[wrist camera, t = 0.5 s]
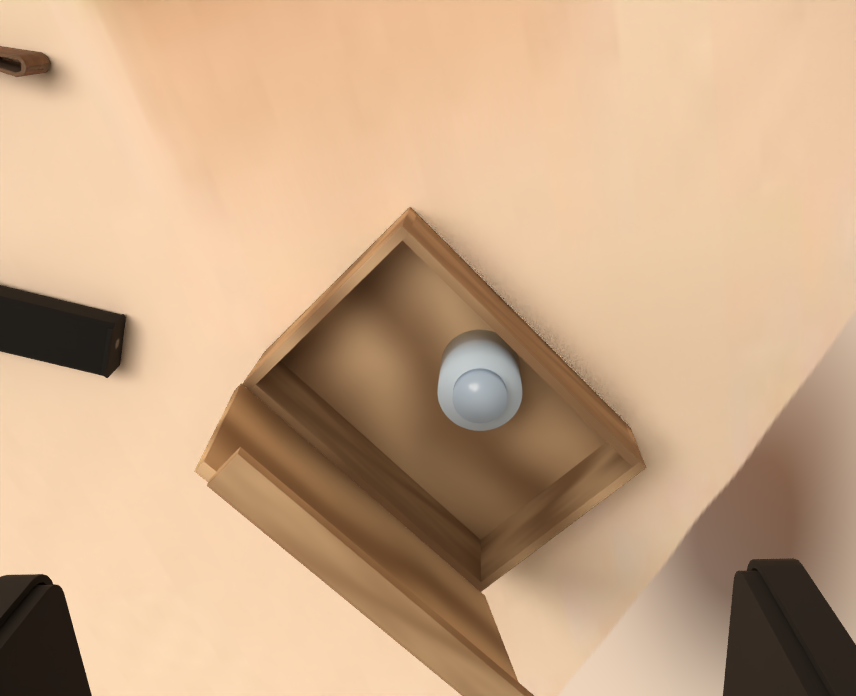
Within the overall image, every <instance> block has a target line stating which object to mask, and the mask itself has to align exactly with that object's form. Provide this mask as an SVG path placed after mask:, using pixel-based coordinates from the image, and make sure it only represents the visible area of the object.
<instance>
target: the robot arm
mask: <svg viewBox="0 0 856 696" xmlns="http://www.w3.org/2000/svg"><path fill="white" fill-rule="evenodd" d="M0 696H92V695H91V691H90V688H89V684H88V680H87V677H86V673H85V669H84V665H83V662H82V658H81V654H80V651H79V647H78V643H77V640H76V636H75V632H74V628H73V625H72V621H71V617H70V614H69V610H68V606H67V602H66V599H65V595H64V592H63V590H62V588H61V587H60V586H59V585H53V583H52V580H51V579H50V578H49V577H48V576H47V575H43V574H35V575H5V576H2V577H0ZM723 696H856V645H855V643H854V642H853V640H852V639H851V637H850V636H849V634H848V633H847V631H846V630H845V628H844V627H843V625H842V624H841V622H840V621H839V619H838V618H837V616H836V615H835V613H834V612H833V610H832V609H831V607H830V606H829V604H828V603H827V601H826V600H825V598H824V597H823V595H822V594H821V592H820V591H819V589H818V588H817V586H816V585H815V583H814V582H813V580H812V579H811V577H810V576H809V574H808V573H807V571H806V570H805V569H804V567H803V566H802V564H801V563H800V562H799V561H798V560H796V559H754V560H751V561H750V563H749V564H748V568H747V571H737V572H736V574H735V577H734V584H733V595H732V606H731V616H730V626H729V637H728V649H727V658H726V669H725V681H724V691H723Z"/></svg>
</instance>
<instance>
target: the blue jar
mask: <svg viewBox="0 0 856 696" xmlns="http://www.w3.org/2000/svg"><path fill="white" fill-rule="evenodd" d="M437 393H438V400H439V404H440V407H441V408H442V410H443V412H444V413H445V415H446V416H447V417H448V418H449V419H450V420H451V421H452V422H454V423H455V424H457V425H458V426H461V427H463V428H466V429H469V430H474V431H486V430H491V429H495V428H497V427H500V426H502V425H503V424H505V423H506V422H508V421H509V420H510V419H511V418H512V417H513V416H514V415H515V414H516V412H517V410H518V409H519V406H520V404H521V400H522V383H521V376H520V368H519V361H518V356H517V353H516V352H515V351H514V350H513V349H512V348H511V347H510V346H509V345H508V344H507V343H506V342H505V341H504V340H503V339H502V338H501V337H500V336H499V335H498V334H497V333H496V332H493V331H489V330H482V329H479V330H470V331H467V332H464V333H462V334H460V335H458V336H456V337H455V338H454V339H453V340H451V342H450V343H449V344H448V345H447V346H446V348H445V350H444V352H443V354H442V358H441V364H440V373H439V381H438V392H437Z"/></svg>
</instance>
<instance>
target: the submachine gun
mask: <svg viewBox="0 0 856 696" xmlns="http://www.w3.org/2000/svg"><path fill="white" fill-rule="evenodd" d="M4 57H7V58H14V59H17V60H18V61H19V62H21V63H19V62H16V61H13V60H10V59H7V58H4ZM49 67H50V61H49V60H48V58H47V56H46V55H44V54H43V53H41V52H35V51H28V50H21V49H15V48H8V47H2V46H0V72H3V73H6V74H9V75H12V76H15V77H19V76H25V75H32V74H39V73H45V72H47V71H48V70H49ZM125 318H126V317H125V315H124V314H122V315H120V314H116V313H112V312H107V311H103V310H99V309H95V308H91V307H87V306H83V305H79V304H75V303H71V302H67V301H62V300H58V299H54V298H50V297H46V296H42V295H38V294H34V293H30V292H26V291H22V290H17V289H13V288H9V287H5V286H1V285H0V351H1V352H6V353H10V354H14V355H18V356H22V357H27V358H31V359H35V360H39V361H44V362H48V363H52V364H56V365H60V366H65V367H69V368H73V369H77V370H82V371H86V372H90V373H94V374H98V375H103V376H105V377H106V378H108V377H109V376H110V375H111V374H112V373H113V372H114V371H115V370H116V368H117V367H118V366H119V365H120V360H121V352H122V344H123V335H124V327H125Z"/></svg>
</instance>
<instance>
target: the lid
mask: <svg viewBox="0 0 856 696" xmlns="http://www.w3.org/2000/svg"><path fill="white" fill-rule="evenodd" d="M195 472H196V473H197V474H199V475H200V476H201V477H202V478H203V479H205V480H206V481H207V482H208V485H207V486H208V487H209V488H210V489H212V490H213V491H214V492H215V493H216V494H218V495H219V496H220V497H221V498H222V499H224V500H225V501H226V502H227V503H229V504H230V505H231V506H232V507H233V508H235V509H236V510H237V511H238V512H240V513H241V514H242V515H243V516H244V517H246V518H247V519H248V520H249V521H250V522H252V523H253V524H254V525H255V526H257V527H258V528H259V529H260V530H261V531H263V532H264V533H265V534H266V535H267V536H269V537H270V538H271V539H272V540H274V541H275V542H276V543H277V544H278V545H280V546H281V547H282V548H283V549H285V550H286V551H287V552H288V553H289V554H291V555H292V556H293V557H294V558H295V559H297V560H298V561H299V562H300V563H302V564H303V565H304V566H305V567H306V568H308V569H309V570H310V571H311V572H312V573H314V574H315V575H316V576H317V577H319V578H320V579H321V580H322V581H323V582H325V583H326V584H327V585H328V586H330V587H331V588H332V589H333V590H334V591H336V592H337V593H338V594H339V595H340V596H342V597H343V598H344V599H345V600H347V601H348V602H349V603H350V604H351V605H353V606H354V607H355V608H356V609H357V610H359V611H360V612H361V613H362V614H364V615H365V616H366V617H367V618H368V619H370V620H371V621H372V622H373V623H375V624H376V625H377V626H378V627H379V628H381V629H382V630H383V631H384V632H385V633H387V634H388V635H389V636H390V637H392V638H393V639H394V640H395V641H396V642H398V643H399V644H400V645H401V646H402V647H404V648H405V649H406V650H407V651H409V652H410V653H411V654H412V655H413V656H415V657H416V658H417V659H418V660H420V661H421V662H422V663H423V664H424V665H426V666H427V667H428V668H429V669H430V670H432V671H433V672H434V673H435V674H437V675H438V676H439V677H440V678H441V679H443V680H444V681H445V682H446V683H447V684H449V685H450V686H451V687H452V688H454V689H455V690H456V691H457V692H458V693H460V694H461V695H462V696H534V695H533V694H531V693H530V692H529V691H528V690H527V689H526V688H524V687H523V686H522V685H521V684H520V683H519V682H518V680H517V677H516V675H515V672H514V670H513V667H512V664H511V662H510V659H509V657H508V654H507V652H506V649H505V646H504V644H503V641H502V639H501V636H500V633H499V631H498V628H497V626H496V623H495V621H494V618H493V615H492V613H491V610H490V608H489V605H488V603H487V600H486V597H485V596H484V595H483V594H482V593H481V592H480V591H479V590H478V589H476V588H475V587H474V586H473V585H472V584H471V583H470V582H468V581H467V580H466V579H465V578H464V577H463V576H462V575H460V574H459V573H458V572H457V571H456V570H455V569H453V568H452V567H451V566H450V565H449V564H448V563H447V562H445V561H444V560H443V559H442V558H441V557H440V556H439V555H437V554H436V553H435V552H434V551H433V550H432V549H431V548H429V547H428V546H427V545H426V544H425V543H424V542H423V541H421V540H420V539H419V538H418V537H417V536H416V535H414V534H413V533H412V532H411V531H410V530H409V529H408V528H406V527H405V526H404V525H403V524H402V523H401V522H400V521H398V520H397V519H396V518H395V517H394V516H393V515H392V514H390V513H389V512H388V511H387V510H386V509H385V508H384V507H382V506H381V505H380V504H379V503H378V502H377V501H375V500H374V499H373V498H372V497H371V496H370V495H369V494H367V493H366V492H365V491H364V490H363V489H362V488H361V487H359V486H358V485H357V484H356V483H355V482H354V481H353V480H351V479H350V478H349V477H348V476H347V475H346V474H345V473H343V472H342V471H341V470H340V469H339V468H338V467H336V466H335V465H334V464H333V463H332V462H331V461H330V460H328V459H327V458H326V457H325V456H324V455H323V454H322V453H320V452H319V451H318V450H317V449H316V448H315V447H314V446H312V445H311V444H310V443H309V442H308V441H307V440H306V439H304V438H303V437H302V436H301V435H300V434H299V433H297V432H296V431H295V430H294V429H293V428H292V427H291V426H289V425H288V424H287V423H286V422H285V421H284V420H283V419H281V418H280V417H279V416H278V415H277V414H276V413H275V412H273V411H272V410H271V409H270V408H269V407H268V406H267V405H265V404H264V403H263V402H262V401H261V400H260V399H259V398H257V397H256V396H255V395H254V394H253V393H252V392H250V391H249V390H248V389H247V388H246V387H245V386H244V385H242V384H240V385H239V386H238V387H237V389H236V390H235V391H234V393H233V395H232V397H231V399H230V401H229V403H228V405H227V407H226V409H225V411H224V413H223V415H222V417H221V419H220V421H219V423H218V425H217V427H216V429H215V431H214V433H213V435H212V437H211V439H210V441H209V443H208V445H207V447H206V449H205V451H204V453H203V455H202V457H201V459H200V461H199V463H198V465H197V467H196V469H195Z"/></svg>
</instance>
